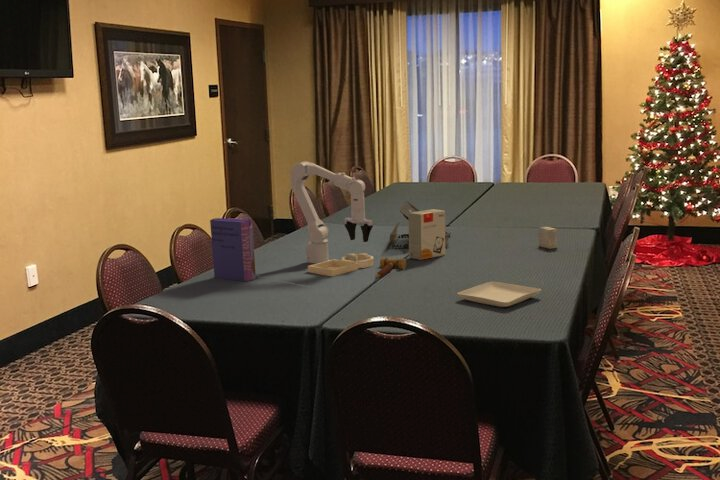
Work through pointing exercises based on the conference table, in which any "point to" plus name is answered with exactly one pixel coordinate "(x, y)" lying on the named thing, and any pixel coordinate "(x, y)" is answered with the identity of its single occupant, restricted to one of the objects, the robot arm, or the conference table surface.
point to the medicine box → (548, 237)
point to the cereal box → (233, 249)
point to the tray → (333, 267)
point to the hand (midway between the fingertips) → (359, 240)
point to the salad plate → (498, 294)
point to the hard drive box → (426, 234)
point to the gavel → (390, 265)
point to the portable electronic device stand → (394, 234)
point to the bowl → (364, 263)
